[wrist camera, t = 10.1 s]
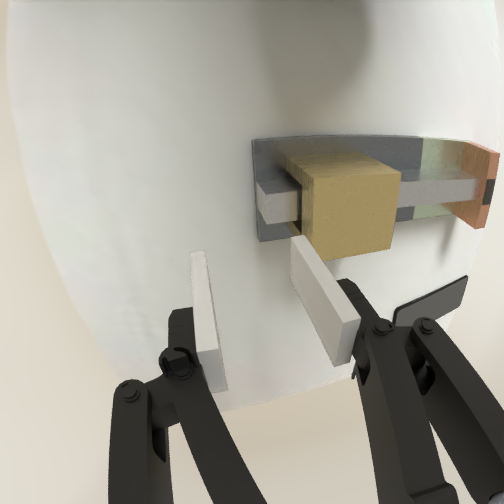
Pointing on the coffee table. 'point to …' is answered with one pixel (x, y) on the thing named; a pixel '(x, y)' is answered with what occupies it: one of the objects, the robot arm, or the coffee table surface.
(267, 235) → the rail
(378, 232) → the clip
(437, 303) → the smartphone
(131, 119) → the coffee table surface
